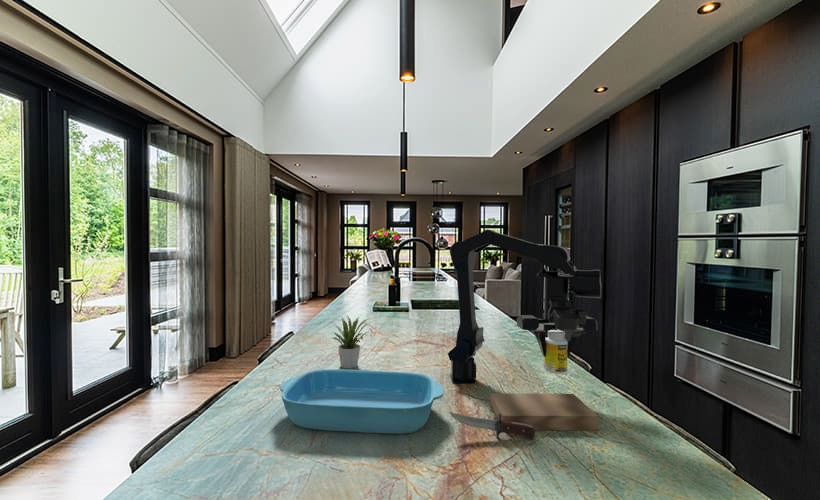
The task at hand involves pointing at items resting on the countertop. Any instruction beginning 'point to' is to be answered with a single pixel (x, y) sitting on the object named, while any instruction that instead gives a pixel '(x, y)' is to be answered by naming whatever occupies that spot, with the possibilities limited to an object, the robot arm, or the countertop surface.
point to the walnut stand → (544, 411)
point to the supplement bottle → (556, 352)
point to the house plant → (349, 343)
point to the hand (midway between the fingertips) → (555, 356)
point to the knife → (497, 425)
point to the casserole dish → (360, 400)
